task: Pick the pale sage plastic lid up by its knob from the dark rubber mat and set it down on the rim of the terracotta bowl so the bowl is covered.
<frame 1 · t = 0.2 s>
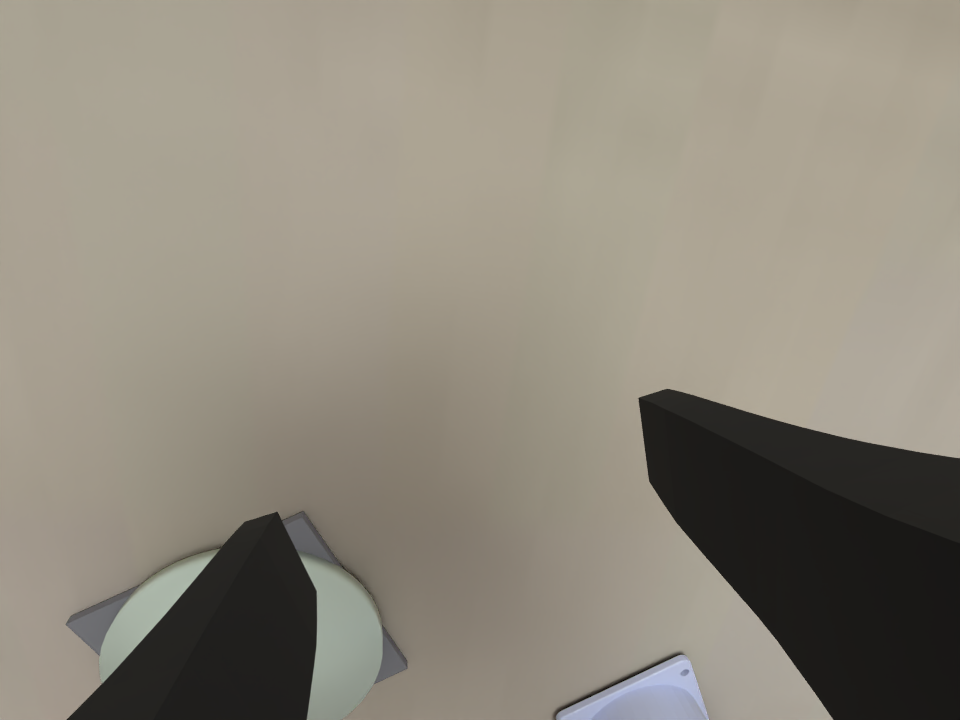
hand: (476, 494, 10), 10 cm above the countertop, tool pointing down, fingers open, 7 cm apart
lid: (240, 701, 20), on the mat
mat: (255, 640, 23), on the countertop
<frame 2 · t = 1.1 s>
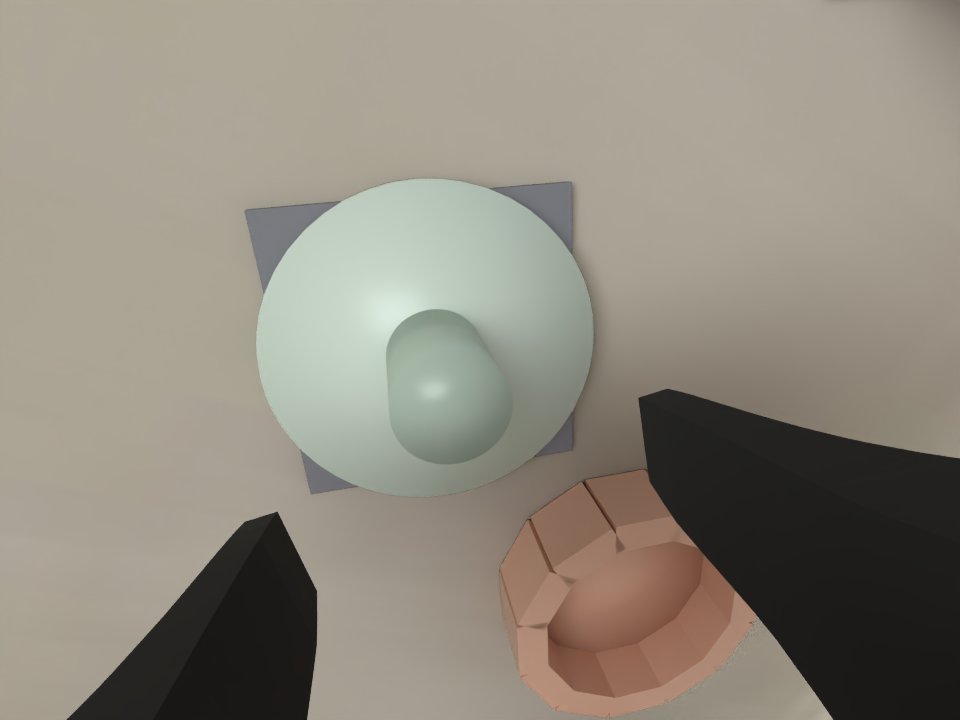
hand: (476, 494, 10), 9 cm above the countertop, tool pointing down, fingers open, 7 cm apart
bowl: (611, 570, 24), on the countertop
lid: (441, 375, 15), on the mat
mat: (431, 344, 18), on the countertop
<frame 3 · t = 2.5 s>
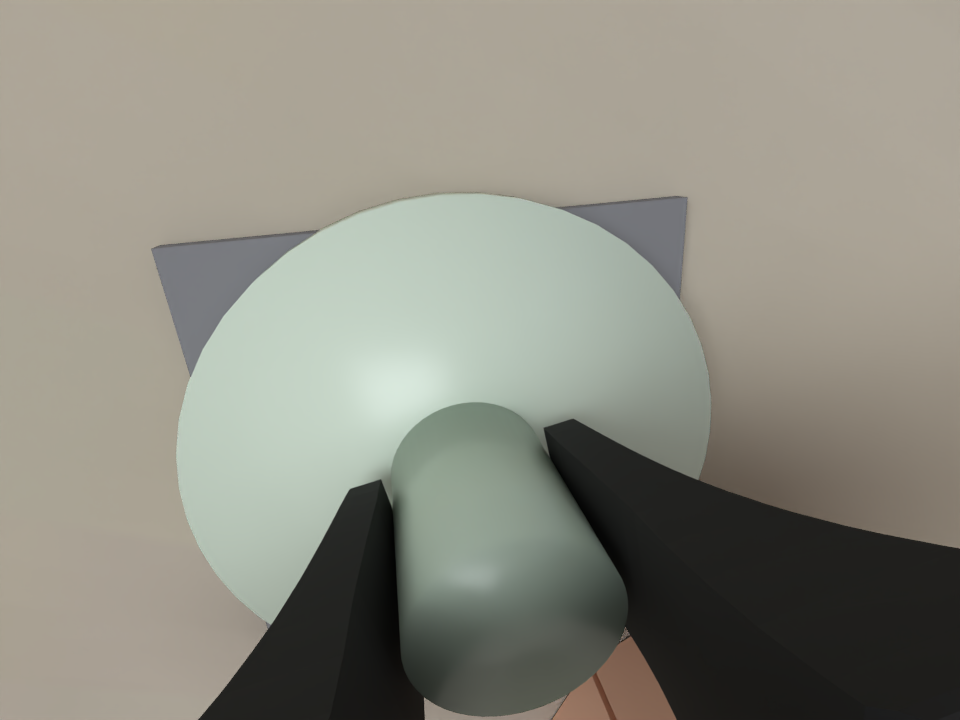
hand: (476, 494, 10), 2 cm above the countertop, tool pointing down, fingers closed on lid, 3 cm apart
bowl: (695, 718, 17), on the countertop
lid: (484, 521, 9), on the mat, touching gripper
mat: (460, 442, 12), on the countertop
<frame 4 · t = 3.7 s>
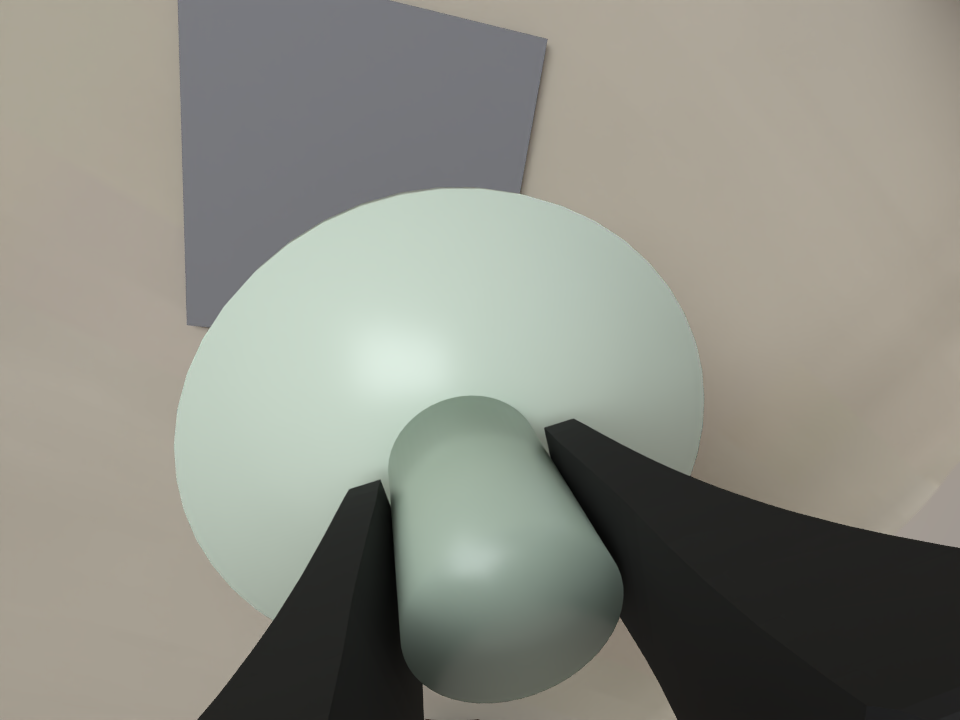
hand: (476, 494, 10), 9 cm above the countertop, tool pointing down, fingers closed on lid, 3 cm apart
lid: (481, 512, 9), point 10 cm above the countertop, touching gripper
mat: (362, 185, 16), on the countertop
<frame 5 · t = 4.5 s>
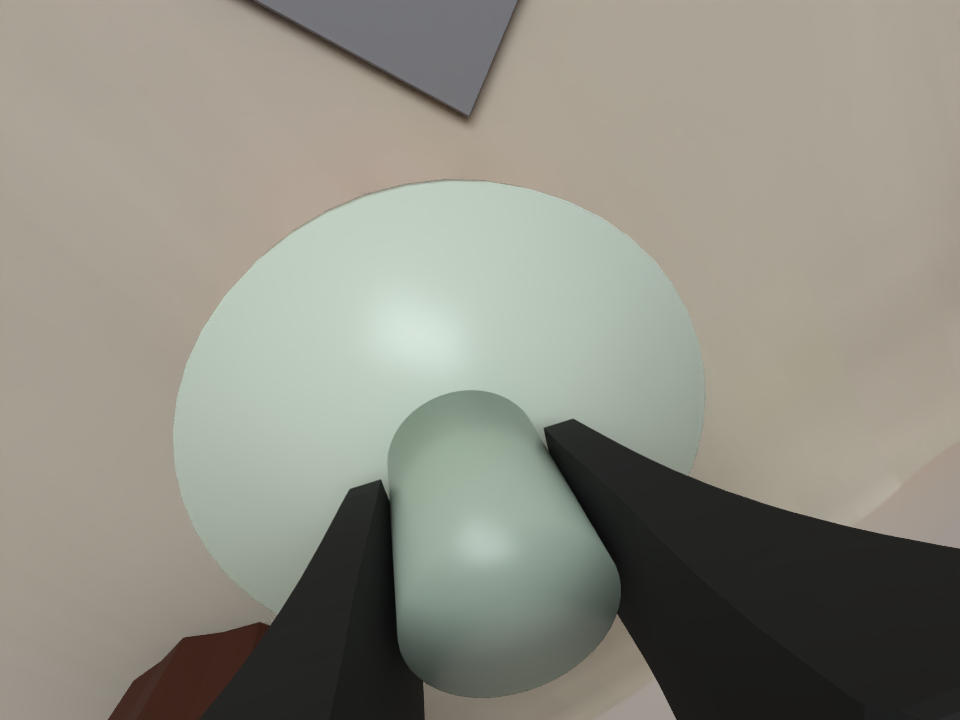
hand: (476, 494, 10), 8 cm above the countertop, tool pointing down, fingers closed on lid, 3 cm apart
muffin: (248, 700, 21), on the countertop
lid: (479, 507, 9), point 8 cm above the countertop, touching gripper
when the fingers open (6 cm above the countertop, at t = 5.1 s): lid stays where it is, resting on bowl.
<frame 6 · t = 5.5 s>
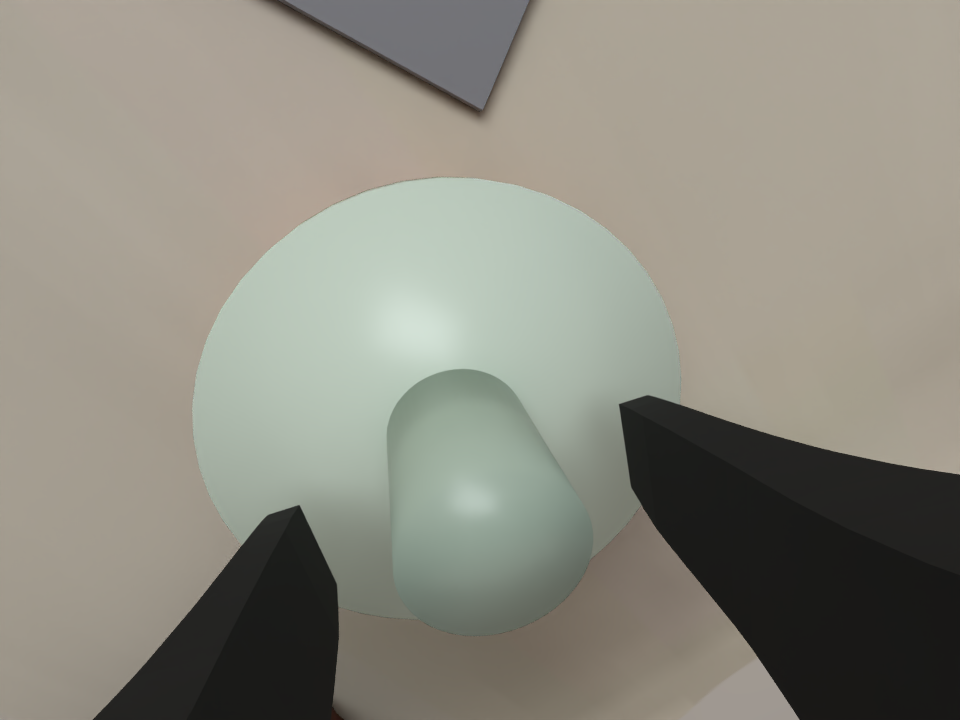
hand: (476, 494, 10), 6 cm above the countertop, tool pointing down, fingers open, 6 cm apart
lid: (470, 473, 10), on the bowl, point 5 cm above the countertop
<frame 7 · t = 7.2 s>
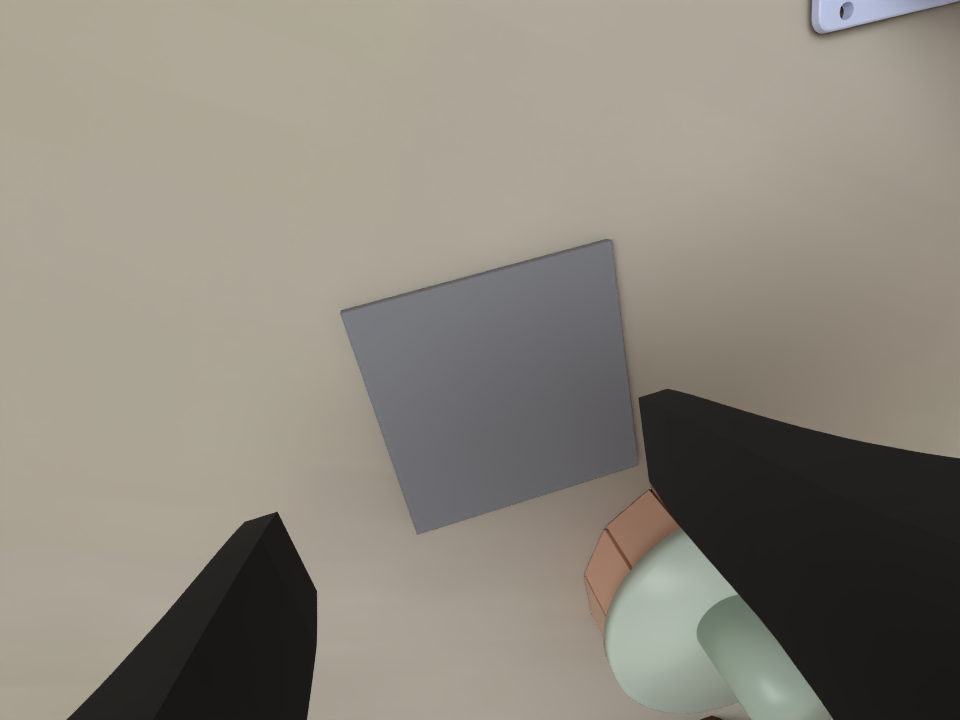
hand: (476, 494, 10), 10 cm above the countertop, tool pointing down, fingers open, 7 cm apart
bowl: (685, 562, 26), on the countertop
lid: (755, 655, 21), on the bowl, point 5 cm above the countertop
mat: (504, 394, 21), on the countertop
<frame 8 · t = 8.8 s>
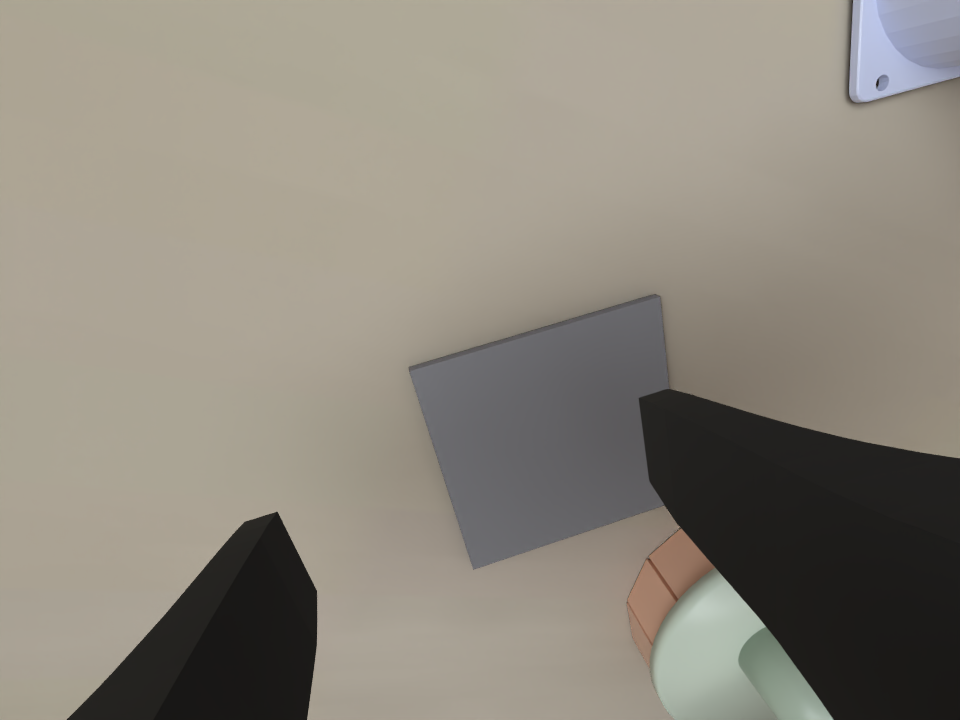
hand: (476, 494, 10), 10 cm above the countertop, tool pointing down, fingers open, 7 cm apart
bowl: (721, 587, 27), on the countertop
lid: (796, 681, 22), on the bowl, point 5 cm above the countertop
mat: (556, 438, 22), on the countertop
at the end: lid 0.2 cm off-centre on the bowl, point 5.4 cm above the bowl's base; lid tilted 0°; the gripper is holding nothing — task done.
